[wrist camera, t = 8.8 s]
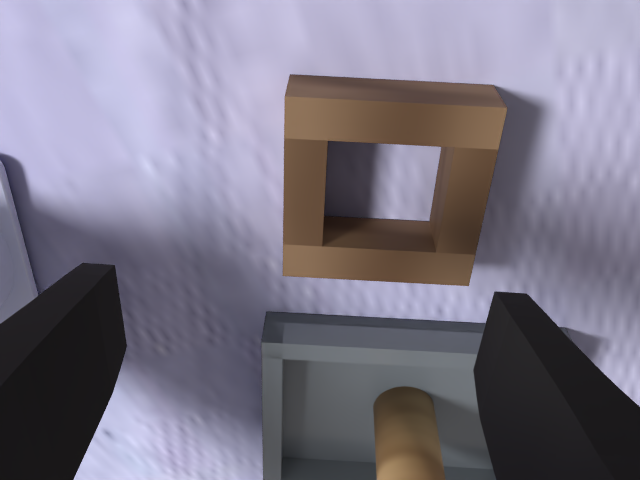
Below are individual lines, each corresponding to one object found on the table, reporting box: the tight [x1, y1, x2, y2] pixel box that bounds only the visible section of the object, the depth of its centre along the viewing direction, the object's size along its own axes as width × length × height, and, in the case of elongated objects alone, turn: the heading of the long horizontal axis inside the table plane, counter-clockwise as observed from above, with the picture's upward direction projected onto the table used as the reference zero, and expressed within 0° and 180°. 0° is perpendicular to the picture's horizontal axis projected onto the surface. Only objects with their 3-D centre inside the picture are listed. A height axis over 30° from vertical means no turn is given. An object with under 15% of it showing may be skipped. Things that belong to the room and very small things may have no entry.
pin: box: [373, 386, 445, 480], centre depth 23 cm, size 3×3×7 cm
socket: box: [283, 75, 507, 286], centre depth 20 cm, size 6×6×2 cm
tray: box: [261, 312, 572, 480], centre depth 26 cm, size 12×9×2 cm
